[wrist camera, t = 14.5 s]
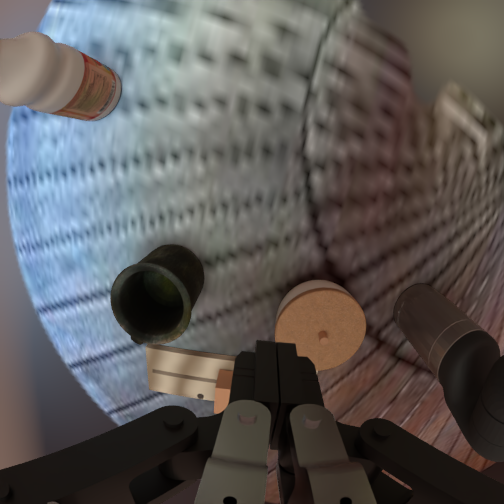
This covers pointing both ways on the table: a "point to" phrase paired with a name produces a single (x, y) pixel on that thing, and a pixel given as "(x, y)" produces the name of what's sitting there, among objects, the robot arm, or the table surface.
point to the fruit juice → (55, 78)
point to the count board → (185, 371)
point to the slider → (222, 390)
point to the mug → (158, 295)
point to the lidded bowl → (321, 323)
